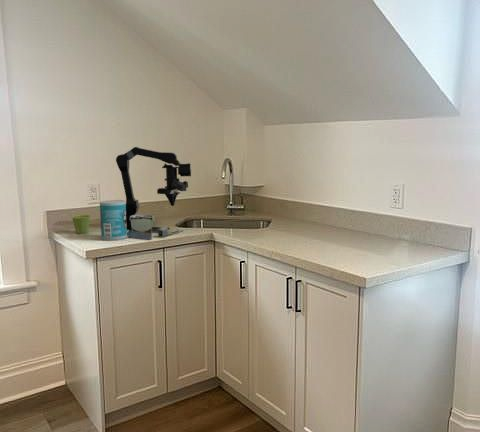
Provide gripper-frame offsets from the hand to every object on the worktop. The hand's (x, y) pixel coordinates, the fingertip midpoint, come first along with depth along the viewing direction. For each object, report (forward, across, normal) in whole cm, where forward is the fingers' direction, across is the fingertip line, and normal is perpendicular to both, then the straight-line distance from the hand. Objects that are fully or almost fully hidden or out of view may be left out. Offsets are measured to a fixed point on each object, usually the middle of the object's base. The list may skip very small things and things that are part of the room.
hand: (172, 205), depth 259 cm
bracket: (+12, -22, -1) cm, 25 cm away
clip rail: (+12, -15, -10) cm, 22 cm away
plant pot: (+12, -32, +34) cm, 48 cm away
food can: (+12, -35, +10) cm, 38 cm away
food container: (+12, -22, +2) cm, 25 cm away
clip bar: (+12, -18, -10) cm, 24 cm away
